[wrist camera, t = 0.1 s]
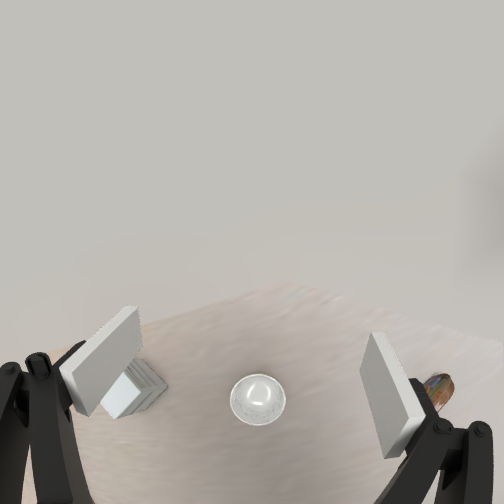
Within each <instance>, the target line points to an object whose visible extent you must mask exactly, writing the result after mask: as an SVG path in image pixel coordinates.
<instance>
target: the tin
mask: <svg viewBox="0 0 504 504" xmlns="http://www.w3.org/2000/svg"><path fill="white" fill-rule="evenodd" d="M423 386H424V388H425V390H426V393H428V395H429V399H431V401H432V403H433V405H434V407H435V409H436V411H437V413H438V412H439V411H440V410H441V408H442V407H443V406H444V405H445V404H446V403H447V402H448V400H449V399H450V398H451V396H452V395H453V392H454V384H453V382H452V380H451V377H450V375H448V374H439V375H437V376H435V377H433V378H431V379H429V380H428V381H427V382H425V383H424V384H423Z"/></svg>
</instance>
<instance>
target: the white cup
mask: <svg viewBox="0 0 504 504" xmlns="http://www.w3.org/2000/svg"><path fill="white" fill-rule="evenodd" d="M285 403H286V396H285V392H284V390H283V388H282V386H281V385H280V384H279V382H278V381H276V380H275V379H274V378H272V377H271V376H269V375H266V374H252V375H248V376H246V377H244V378H242V379H240V380H239V381H238V382H237V383H236V384H235V386H234V387H233V389H232V391H231V394H230V405H231V409H232V411H233V413H234V414H235V415H236V417H237V418H238V419H240V420H241V421H243V422H244V423H247V424H249V425H254V426H261V425H266V424H269V423H271V422H273V421H275V420H276V419H277V418H278V417H279V416H280V415H281V413H282V412H283V410H284V407H285Z"/></svg>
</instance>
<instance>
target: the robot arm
mask: <svg viewBox="0 0 504 504" xmlns="http://www.w3.org/2000/svg"><path fill="white" fill-rule="evenodd" d="M138 312H139V311H138V307H133V306H128V305H127V306H126V307H124V308H123V309H122V310H121V311H120V312H119V313H118V314H117V315H115V316H114V317H113V318H112V319H111V320H110V321H109V322H108V323H107V324H105V325H104V326H103V327H102V328H101V329H100V330H99V331H98V332H97V333H95V334H94V335H93V336H92V337H91V338H90V339H89V340H88V341H85V340H84V341H81V342H79V343H77V344H75V345H74V346H73V347H72V348H71V349H70V350H69V351H68V352H67V353H66V354H64V355H63V356H62V357H61V358H60V359H59V360H58V361H57V362H56V363H55V364H54V365H52V364H51V361H50V358H49V356H48V355H47V354H46V353H42V352H37V353H34V354H31V355H29V356H28V357H27V358H26V360H25V364H26V366H27V369H28V371H29V372H23V371H22V370H21V367H20V365H19V364H18V363H16V362H8V363H5V364H4V365H2V366H1V368H0V504H21V500H22V490H23V481H24V474H25V467H26V461H27V456H28V450H29V445H30V448H31V460H32V469H33V477H34V484H35V490H36V496H37V504H93V502H92V499H91V496H90V493H89V490H88V486H87V483H86V479H85V476H84V472H83V469H82V465H81V461H80V456H79V452H78V448H77V443H76V438H75V433H74V428H73V422H72V416H71V411H70V409H69V407H70V406H71V405H72V403H73V405H74V407H75V409H76V412H79V413H81V414H83V415H85V416H88V417H89V416H90V415H91V413H92V412H93V411H94V409H95V408H96V407H97V405H98V404H99V403H100V401H101V400H102V399H103V397H104V396H105V395H106V394H107V392H108V391H109V390H110V388H111V387H112V386H113V384H114V383H115V382H116V381H117V379H118V378H119V377H120V375H121V374H122V373H123V371H124V370H125V369H126V368H127V366H128V365H129V364H130V363H131V361H132V360H133V359H134V357H135V356H136V355H137V354H138V352H139V351H140V350H141V349H142V347H143V342H142V335H141V328H140V321H139V313H138ZM360 375H361V378H362V381H363V384H364V388H365V391H366V394H367V398H368V401H369V404H370V408H371V411H372V415H373V419H374V422H375V426H376V429H377V433H378V437H379V441H380V445H381V449H382V453H383V457H384V459H387V458H394V457H400V455H401V454H402V452H403V451H404V450H405V451H406V454H407V456H406V458H405V459H404V460H403V462H402V463H401V464H400V466H399V467H398V470H397V472H396V473H395V475H394V476H393V478H392V479H391V481H390V482H389V484H388V485H387V486H386V488H385V489H384V491H383V492H382V493H381V495H380V496H379V497H378V499H377V500H376V501H375V503H374V504H421V503H422V502H423V500H424V498H425V496H426V494H427V492H428V490H429V489H430V487H431V485H432V483H433V481H434V479H435V477H436V475H437V472H438V470H441V471H440V477H439V482H438V488H437V492H436V497H435V502H434V504H492V495H493V468H494V464H493V437H492V430H491V428H490V426H489V425H488V424H487V423H485V422H482V421H475V422H473V423H472V424H471V425H470V426H469V427H468V429H463V428H454V427H453V425H452V424H451V422H450V421H448V420H446V419H444V418H440V417H439V415H438V413H437V411H436V409H435V407H434V405H433V403H432V401H431V399H429V395H428V393H426V390H425V388H424V386H423V384H422V383H421V382H419V381H418V380H417V379H416V378H412V379H408V378H407V376H406V374H405V372H404V370H403V368H402V366H401V364H400V362H399V360H398V358H397V356H396V354H395V352H394V351H393V349H392V347H391V345H390V343H389V341H388V339H387V337H386V336H385V334H384V332H371V333H370V337H369V341H368V344H367V348H366V351H365V354H364V358H363V361H362V364H361V367H360Z"/></svg>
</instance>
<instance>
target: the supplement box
mask: <svg viewBox="0 0 504 504" xmlns="http://www.w3.org/2000/svg"><path fill="white" fill-rule="evenodd" d="M167 387H168V386H167V385H166V384H165V383H164V382H163V381H162V380H161V379H160V378H159V377H158V376H157V374H156V373H155V372H154V371H153V370H152V369H151V368H150V367H149V366H148V365H147V364H146V363H145V362H144V360H139V359H133V360H132V361H131V363H130V364H129V365H128V366H127V368H126V369H125V370H124V371H123V373H122V374H121V375H120V377H119V378H118V379H117V381H116V382H115V383H114V384H113V386H112V387H111V388H110V390H109V391H108V392H107V394H106V395H105V396H104V397H103V399H102V400H101V401H100V403H101V405H102V406H103V407H104V408H105V409H106V410H107V412H108V413H109V414H110V415H111V416H112V417H113V418H114V419H118V418H121V417H124V416H128V415H131V414H134V413H137V412H140V411H143V410H146V409H147V407H148V406H149V405H150V404H151V403H152V402H153V401H154V400H155V399H156V398H157V397H158V396H159V395H160V394H161V393H162V392H163V391H164V390H165V389H166V388H167Z"/></svg>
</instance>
